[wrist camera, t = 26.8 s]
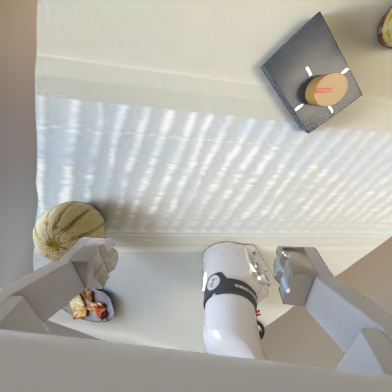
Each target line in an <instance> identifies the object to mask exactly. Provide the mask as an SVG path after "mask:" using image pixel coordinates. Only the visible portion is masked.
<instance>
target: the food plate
mask: <svg viewBox="0 0 392 392" xmlns="http://www.w3.org/2000/svg"><path fill="white" fill-rule="evenodd" d="M62 309H63V310H64V311H66V312H68V313H70V314H71V315H72V316H73V319H78V318H80V319H83V320H87V321H91V322H105V321H110V320H111V319H112V318H113V317H114V316H115V312H114V307H113V304H112V303H111V298H110V297H108V296H107V295H106V294H105V293H104V292H102V291H99V290H96V289H93V288H85V290H84V291H82V292H81V293H80V294H79V295H78V296H76V297H75V298H74V299H73V300H71V301H70V302H69V303H68V304H66V305H65V306H64V307H63V308H62Z"/></svg>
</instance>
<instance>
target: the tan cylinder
mask: <svg viewBox="0 0 392 392" xmlns="http://www.w3.org/2000/svg"><path fill="white" fill-rule="evenodd" d="M347 88H348V81H347V78H346V77H345V75H344V74H342V73H339V72H333V73H328V74H323V75H319V76H317V77H315V78H314V79H313V80H312V81H311V82H310V83H309V84H308V86H307V88H306V92H305V97H306V100H307V102H308V103H309V104H311V105H314V106H322V107H329V106H332V105H334V104H336V103H338V102H339V101H340V100H341V99H342V98H343V97H344V95H345V93H346V91H347Z"/></svg>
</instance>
